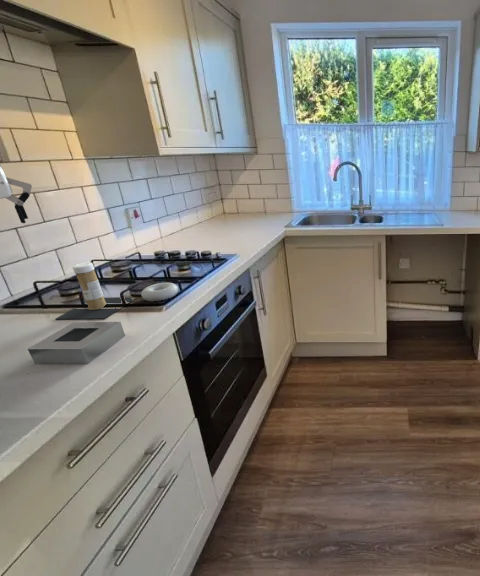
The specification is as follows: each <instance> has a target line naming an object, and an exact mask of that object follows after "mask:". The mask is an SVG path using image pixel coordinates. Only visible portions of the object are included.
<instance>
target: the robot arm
mask: <svg viewBox="0 0 480 576" xmlns="http://www.w3.org/2000/svg"><path fill="white" fill-rule="evenodd" d="M12 186H15V187H19V188H22V189H23V190H22V193H21V194H20V195H19V196H18V197H17V195H15V194H13V188H12ZM32 187H33V186H32V184H31V183H29V182H25V181H21V180H18V179H15V178H10V177H7V176H6V174H5V171H4V168H2V165H1V164H0V200H2V199H6V200H8V201H10V202H12V203H14V209H15V211H16V213H17V217H18V219H19V221H20V224H26V223H27V222H26V220H27V219H29V216H28V214H27V212H26V209H25V207H24V204H25V203H26V201H27V200H28V199H29V198H30V195H31V191H32Z"/></svg>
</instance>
